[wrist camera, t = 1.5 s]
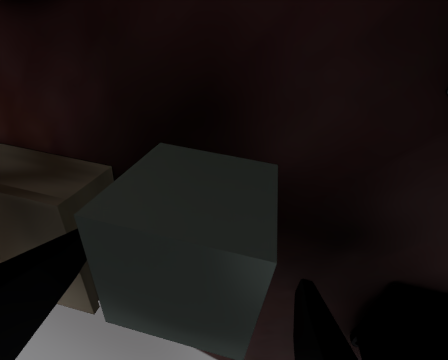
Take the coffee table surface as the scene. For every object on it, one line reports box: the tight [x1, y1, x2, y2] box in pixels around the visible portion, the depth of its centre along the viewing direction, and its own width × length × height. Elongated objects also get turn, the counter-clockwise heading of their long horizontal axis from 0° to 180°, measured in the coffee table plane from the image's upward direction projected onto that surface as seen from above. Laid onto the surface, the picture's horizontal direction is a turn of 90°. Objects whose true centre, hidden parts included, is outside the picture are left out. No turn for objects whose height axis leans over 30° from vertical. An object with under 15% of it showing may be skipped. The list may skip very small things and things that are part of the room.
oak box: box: [0, 144, 114, 314], centre depth 14 cm, size 8×8×4 cm
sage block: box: [74, 143, 278, 360], centre depth 11 cm, size 6×6×6 cm
